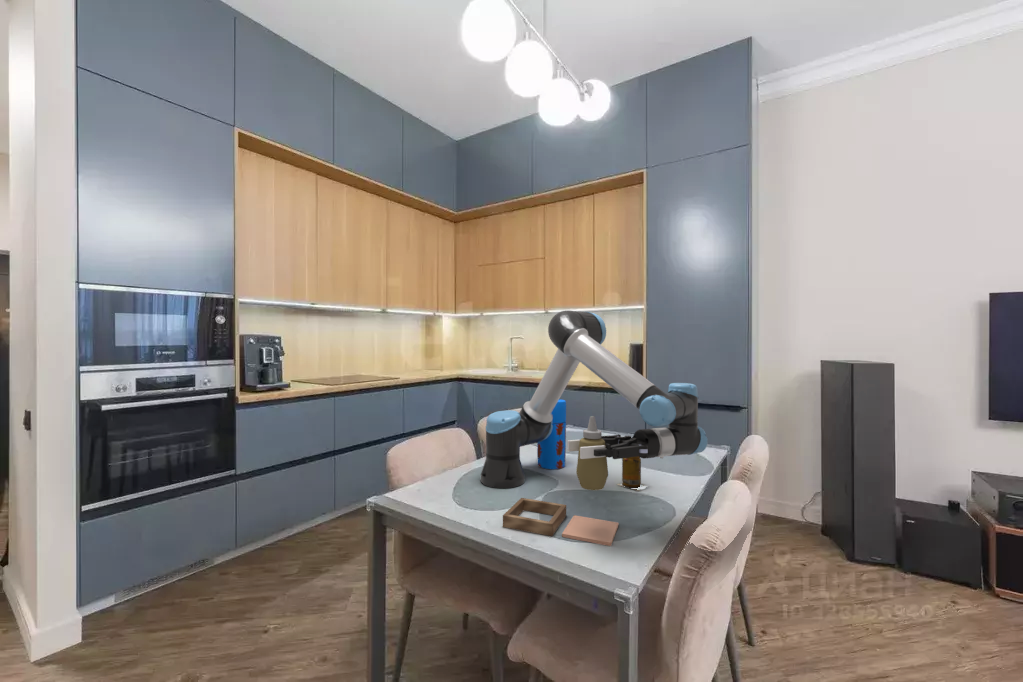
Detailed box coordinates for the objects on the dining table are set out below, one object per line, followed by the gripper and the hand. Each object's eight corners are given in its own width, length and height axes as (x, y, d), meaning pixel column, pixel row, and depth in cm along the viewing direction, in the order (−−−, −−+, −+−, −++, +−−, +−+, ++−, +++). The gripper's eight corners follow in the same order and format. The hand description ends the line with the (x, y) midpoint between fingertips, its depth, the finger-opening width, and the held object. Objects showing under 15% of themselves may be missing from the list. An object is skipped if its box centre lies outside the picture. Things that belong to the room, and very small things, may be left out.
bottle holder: (502, 526, 111) (502, 515, 111) (521, 508, 123) (521, 497, 123) (552, 536, 106) (552, 524, 106) (566, 515, 118) (566, 504, 118)
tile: (561, 536, 106) (561, 533, 106) (573, 518, 117) (573, 515, 117) (611, 546, 101) (611, 542, 101) (618, 525, 112) (618, 522, 112)
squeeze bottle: (588, 479, 114) (588, 412, 114) (614, 487, 109) (614, 416, 109) (569, 487, 109) (569, 416, 109) (596, 495, 103) (596, 420, 103)
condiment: (629, 480, 148) (629, 446, 148) (650, 487, 142) (651, 451, 142) (616, 485, 144) (616, 449, 144) (637, 492, 137) (638, 454, 137)
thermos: (532, 462, 168) (533, 399, 168) (556, 460, 172) (557, 398, 172) (545, 470, 158) (546, 402, 158) (570, 467, 162) (571, 401, 162)
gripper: (676, 467, 105) (592, 476, 98) (631, 448, 123) (558, 454, 116) (677, 436, 105) (592, 443, 98) (631, 422, 123) (558, 426, 116)
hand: (574, 449), depth 107 cm, fingers closed on squeeze bottle, 6 cm apart
